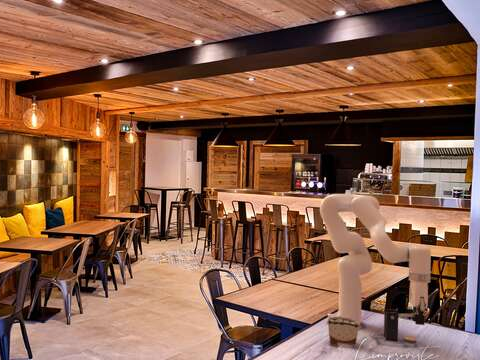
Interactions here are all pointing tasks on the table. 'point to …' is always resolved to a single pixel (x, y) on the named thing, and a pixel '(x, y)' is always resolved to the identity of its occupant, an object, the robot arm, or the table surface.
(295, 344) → the table surface
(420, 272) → the robot arm
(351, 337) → the food container
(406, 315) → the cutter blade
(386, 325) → the black upright box
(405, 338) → the cake
